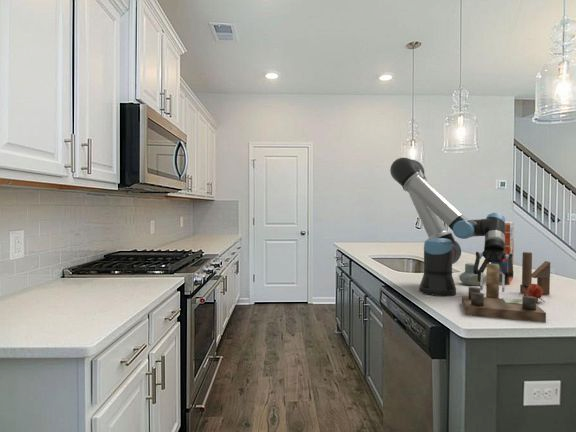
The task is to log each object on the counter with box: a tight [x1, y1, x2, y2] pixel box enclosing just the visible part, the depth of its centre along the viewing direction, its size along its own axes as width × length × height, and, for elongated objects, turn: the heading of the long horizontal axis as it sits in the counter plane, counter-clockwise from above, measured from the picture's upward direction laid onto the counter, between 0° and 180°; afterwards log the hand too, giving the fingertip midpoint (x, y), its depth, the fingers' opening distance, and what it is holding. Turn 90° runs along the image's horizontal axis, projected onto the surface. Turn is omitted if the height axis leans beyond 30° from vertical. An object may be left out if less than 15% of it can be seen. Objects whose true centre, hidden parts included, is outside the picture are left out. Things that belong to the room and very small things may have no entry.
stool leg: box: [485, 263, 500, 298], centre depth 157 cm, size 4×4×15 cm
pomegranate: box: [522, 283, 546, 303], centre depth 159 cm, size 7×7×10 cm
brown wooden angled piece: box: [519, 251, 551, 296], centre depth 174 cm, size 4×11×18 cm, turn 87°
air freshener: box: [458, 262, 485, 287], centre depth 194 cm, size 11×8×10 cm
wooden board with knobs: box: [461, 286, 547, 323], centre depth 143 cm, size 24×18×7 cm
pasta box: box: [490, 221, 515, 286], centre depth 205 cm, size 23×8×30 cm, turn 147°
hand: (492, 288), depth 154 cm, fingers open, 7 cm apart
